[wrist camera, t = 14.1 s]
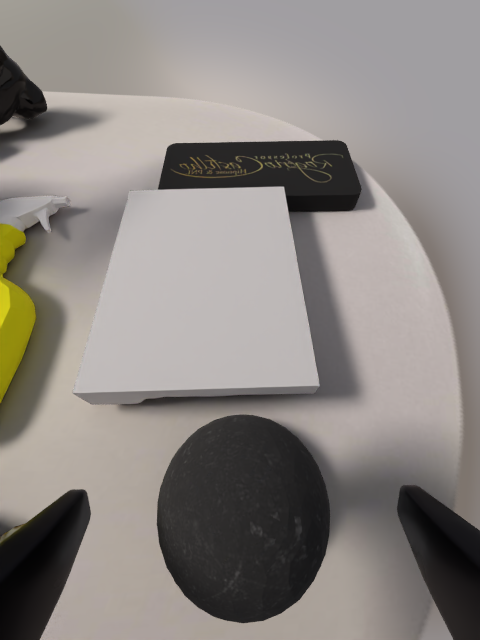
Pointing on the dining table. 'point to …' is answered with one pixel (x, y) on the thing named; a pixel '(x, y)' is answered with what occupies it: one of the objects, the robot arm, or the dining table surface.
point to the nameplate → (268, 170)
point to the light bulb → (243, 518)
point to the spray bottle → (7, 298)
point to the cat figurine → (18, 92)
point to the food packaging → (200, 301)
